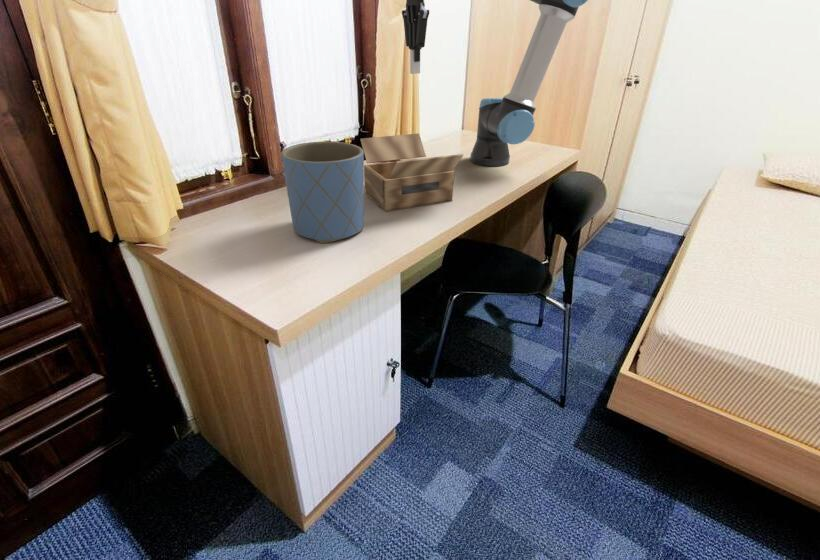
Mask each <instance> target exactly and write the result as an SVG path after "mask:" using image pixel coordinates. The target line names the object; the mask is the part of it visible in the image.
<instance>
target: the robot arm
mask: <svg viewBox="0 0 820 560" xmlns="http://www.w3.org/2000/svg"><path fill="white" fill-rule="evenodd" d="M529 1H531V2H533V3H535V4H537V5H538V9H539V13H540V14H539V15H540V16H538V17H539V18H538V21H537V22H536V25H535V28H534V31H533V33H532V35H531V38H530V41H529V43H528V45H527V48H526V51H525V53H524V57H523V58H522V61H521V63H520V67H519V69H518V71H517V74H516V77H515V79H514V81H513V83H512V86H511V90H510V91H509V93H507V94H505V95H503V96H502V97H491V98H490V97H488V98H486V97H485V98H482V99H481V100H480V102H479V103H480V104H479V108H478V110H479V111H478V121H477V132H476V140H475V144H474V145H473V148H472V150H471V153H470V159H469V160H470V162H472V163H474V164H476V165H480V166H486V167H501V166H506V165H508V164H509V163H510V157H511V156H510V155H511V154H510V150H509V145H519V144H521V143H523V142H525V141H527V140H528V139H529V138H530V136H531V135H532V134H533V132H534V129H535V122H536V121H535V119H534V114H535V112H536V109H537V105H536V104H535V100H536V98H537V95H538V92H539V90H540V88H541V86H542V83H543V80H544V78H545V76H546V73H547V71H548V69H549V66H550V64H551V61H552V59H553V56H554V54H555V52H556V50H557V47H558V45H559V43H560V40H561V37H562V35H563V33H564V30H565V28H566V26H567V24H568V23H569V22H571V21H573V20H574V19H575V16H576V15H577V12H578V10H579V8H580V7H581V6H583V5H584V4H586V3H587V2H588V1H589V0H529ZM425 6H426V5H425V0H406V2H405V9H404V10H402V11H401V15H402V19H403V28H404V38H405V46H406V47H407V48H408V49H409V73H410V74H413V75H415V74H420V73H421V50H422V48H424V47H425V46H426V45H425V43H426V36H427V27H428V20H429V16H430V9H426V7H425Z"/></svg>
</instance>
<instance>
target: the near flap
mask: <svg viewBox="0 0 820 560" xmlns="http://www.w3.org/2000/svg"><path fill="white" fill-rule="evenodd" d="M463 157H464V153H457V154H451V155H441V156H433V157H422V158H423V159H422V158H413V159H414V160H413V159H404V160H405V161H404V160H396V161H397V162H396V161H395V162H396V164H395V166H394V168H393V170H392V172H391V174H390V176H389V179H396V178H404V177H412V176H419V175H427V174H434V173H442V172H450V171H453V170H454V169H455V168H456V167H457V165H458V164H459V162H460V161H461V159H462V158H463Z"/></svg>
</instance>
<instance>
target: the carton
mask: <svg viewBox="0 0 820 560" xmlns="http://www.w3.org/2000/svg"><path fill="white" fill-rule="evenodd" d="M423 158H424V157H421V159H423ZM414 159H415V158H412V160H414ZM405 160H406V159H403V161H405ZM397 161H398V160H395V161H386V162H377V163H369V164H364V189H365V190H364V194H365V195H366V196H367V197H368V198H370V199H371V200H372V201H373V202H374V203H375V204H376V205H378V206H379V208H381V209H382V210H383V211H384V212H391V211H392V212H393V211H397V210H399V211H400V210H404V209H409V208H411V209H412V208H416V207H422V206H429V205H435V204H441V203H448V202H453V195H454V183H455V181H454V180H455V170H454V169H453V171H450V172H442V173H434V174H427V175H419V176H412V177H404V178H396V179H389V176H390V174H391V172H392V170H393V168H394V166H395V164H396V162H397Z"/></svg>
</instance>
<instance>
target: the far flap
mask: <svg viewBox="0 0 820 560" xmlns="http://www.w3.org/2000/svg"><path fill="white" fill-rule="evenodd" d="M359 139H360V144H361V148H362V149H363V152H364V159H365V160H366V161H365V162H366V164H377V163H385V162H394V161H403V160H412V159H420V158H427V155H426V151H425V148H424V145H423V142H422V139H421V135H420V133H419V132H418V133H410V134H409V133H407V134H399V135H398V134H397V135H387V136H377V137H376V136H375V137H364V138H359Z"/></svg>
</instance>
